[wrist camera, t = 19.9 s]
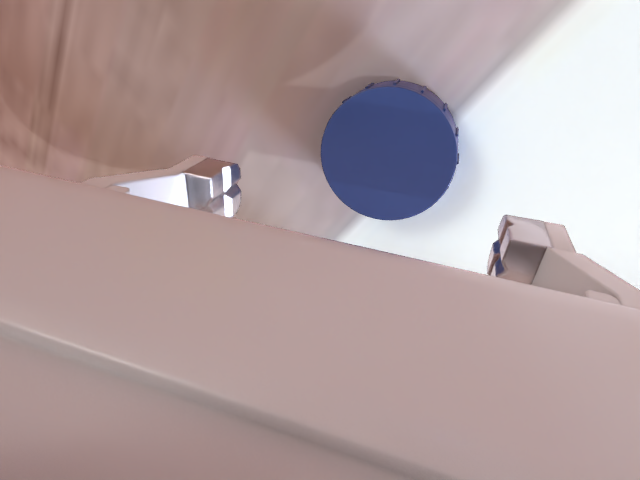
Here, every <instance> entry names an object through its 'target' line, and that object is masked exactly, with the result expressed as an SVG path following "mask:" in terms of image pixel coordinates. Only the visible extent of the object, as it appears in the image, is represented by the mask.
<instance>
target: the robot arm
mask: <svg viewBox="0 0 640 480" xmlns="http://www.w3.org/2000/svg"><path fill="white" fill-rule="evenodd" d="M240 179H241V175H240V168H239V166H238V164H235V163H230V162H225V161H221V160H216V159H211V158H209V157H203V156H197V155H193V156H191V157H190V158H188V159H186V160H184V161H182V162H180V163H178V164H176V165H174V166H172V167H170V168H169V169H167V170H166V169H157V170H149V171H142V172H134V173H127V174H119V175H112V176H104V177H97V178H89V179H87V180H85V181H83V182H81V183H77V182H73V181H68V180H64V179H60V178H55V177H51V176H46V175H42V174H37V173H33V172H29V171H24V170H20V169H15V168H11V167H6V166H2V165H0V480H640V290H638V289H637V288H635V287H634V286H632V285H630V284H629V283H627V282H626V281H624V280H623V279H621V278H619V277H618V276H616V275H615V274H613V273H611V272H610V271H608V270H607V269H605V268H604V267H602V266H600V265H599V264H597V263H596V262H594V261H592V260H591V259H589V258H588V257H586V256H584V255H583V254H578V253H576V251H575V249H574V246H573V244H572V242H571V240H570V237H569V235H568V233H567V231H566V228H565V226H564V225H560V224H554V223H548V222H544V221H540V220H534V219H528V218H522V217H516V216H510V215H504V216H503V218H502V220H501V222H500V225H499V227H498V237H499V240H497V241H496V242H494V243H493V245H492V248H491V251H490V255H489V259H488V266H487V274H488V275H485V274H481V273H476V272H472V271H467V270H463V269H458V268H454V267H450V266H445V265H441V264H436V263H432V262H427V261H423V260H419V259H414V258H410V257H405V256H401V255H396V254H392V253H388V252H383V251H379V250H374V249H370V248H365V247H361V246H356V245H352V244H348V243H343V242H339V241H334V240H330V239H325V238H321V237H316V236H312V235H308V234H303V233H299V232H294V231H290V230H285V229H281V228H276V227H272V226H268V225H263V224H259V223H254V222H250V221H245V220H241V219H237V218H232V217H233V216H234V215H235V214H236V213H237V211H238V209H239V207H240V204H241V190H240V188H239V187H238V185H237V183H238V181H239V180H240Z"/></svg>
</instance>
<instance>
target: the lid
mask: <svg viewBox="0 0 640 480" xmlns="http://www.w3.org/2000/svg"><path fill="white" fill-rule="evenodd" d="M342 103H343V104H342V105H341V106H340V107H339V108H338V109H337V110H336V111H335V112H334V114H333V115H332V117H331V118H330V120H329V122H328V124H327V126H326V128H325V131H324V134H323V138H322V144H321V162H322V167H323V171H324V174H325V177H326V179H327V181H328V183H329V185H330V187H331V188H332V190H333V191H334V193H335V194H336V195H337V196H338V198H339V199H340V200H341V201H342V202H343V203H345V204H346V205H347V206H348V207H350V208H351V209H353V210H354V211H356V212H358V213H360V214H362V215H365V216H367V217H371V218H374V219H380V220H400V219H405V218H409V217H412V216H415V215H417V214H419V213H421V212H423V211H425V210H427V209H428V208H430V207H431V206H432V205H433V204H435V203H436V202H437V201H438V200H439V199H440V198H441V197H442V195H443V194H444V193H445V191H446V190H447V189H448V187H449V185H450V183H451V181H452V179H453V176H454V173H455V170H456V164H458V163H459V153H458V130H459V129H458V127H457V128H456V125H455V122H454V120H453V117H452V115H451V113H450V111H449V110H448V108H447V104H446V103H445V104H444V103H443V102H442V101H441V100H440V99H439V98H438V97H437V96H436V95H435V94H434V93H432V92H431V91H429V90H428V89H426V86H424V87H422V86H420V85H417V84H414V83H411V82H406V81H400V79H397V80H396V81H395V80H394V81H384V82H380V83H376V84H374V83H371V84H369V85H368V86H366V87H365V88H364V89H363V90H361V91H359V92H358V93H356V94H355V95H353V96H352V97H351V96H350V97H348V98H347V99H345V100H344V101H343V102H342Z"/></svg>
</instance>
